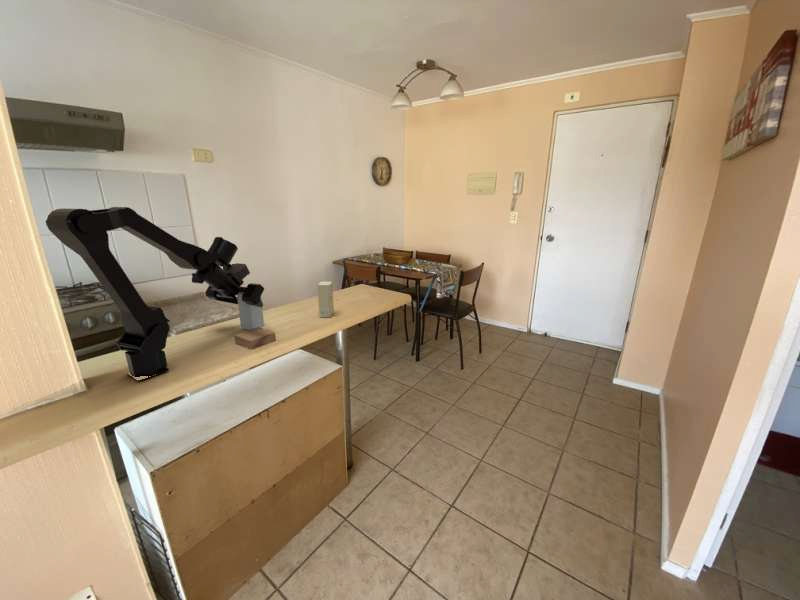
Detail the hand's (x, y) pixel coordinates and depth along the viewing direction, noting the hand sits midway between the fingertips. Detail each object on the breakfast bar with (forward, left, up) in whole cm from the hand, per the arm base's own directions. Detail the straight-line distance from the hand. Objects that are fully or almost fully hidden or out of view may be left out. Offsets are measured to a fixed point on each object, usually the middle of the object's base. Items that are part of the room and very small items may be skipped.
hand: (250, 304), depth 109 cm
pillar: (0, 0, -8) cm, 8 cm away
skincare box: (+23, -11, -8) cm, 26 cm away
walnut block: (-7, -12, -8) cm, 16 cm away
